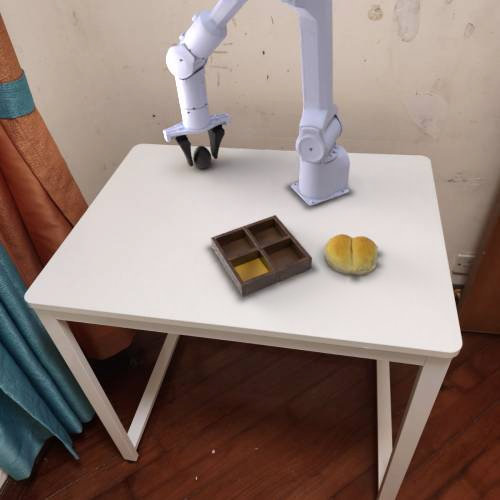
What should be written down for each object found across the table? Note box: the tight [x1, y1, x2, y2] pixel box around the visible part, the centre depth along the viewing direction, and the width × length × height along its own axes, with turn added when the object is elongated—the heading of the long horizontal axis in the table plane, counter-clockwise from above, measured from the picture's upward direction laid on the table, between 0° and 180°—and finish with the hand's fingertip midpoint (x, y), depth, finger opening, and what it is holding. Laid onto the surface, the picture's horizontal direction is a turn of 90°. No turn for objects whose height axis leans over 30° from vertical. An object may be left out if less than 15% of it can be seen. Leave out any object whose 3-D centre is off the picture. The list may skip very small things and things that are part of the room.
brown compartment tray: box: [210, 214, 313, 297], centre depth 78 cm, size 13×13×3 cm
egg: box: [192, 145, 213, 170], centre depth 100 cm, size 4×4×5 cm
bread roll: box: [323, 233, 379, 275], centre depth 76 cm, size 8×9×4 cm
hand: (202, 160), depth 101 cm, fingers open, 5 cm apart
